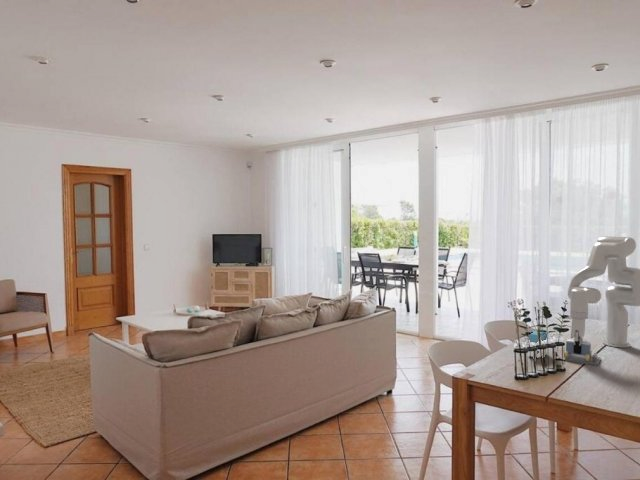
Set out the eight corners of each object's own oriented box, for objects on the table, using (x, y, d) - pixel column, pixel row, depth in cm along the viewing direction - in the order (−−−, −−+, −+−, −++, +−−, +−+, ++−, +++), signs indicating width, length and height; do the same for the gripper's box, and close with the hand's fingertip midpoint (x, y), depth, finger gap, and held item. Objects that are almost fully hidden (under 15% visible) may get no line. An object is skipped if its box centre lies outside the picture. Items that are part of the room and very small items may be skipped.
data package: (537, 359, 228) (537, 334, 228) (527, 357, 232) (528, 333, 231) (547, 354, 236) (547, 330, 236) (538, 352, 240) (538, 329, 239)
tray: (559, 353, 238) (559, 345, 238) (600, 359, 228) (600, 351, 227) (555, 359, 228) (555, 350, 228) (597, 365, 218) (598, 357, 218)
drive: (567, 350, 233) (567, 338, 232) (590, 354, 227) (590, 342, 226) (565, 352, 229) (566, 340, 229) (589, 356, 223) (589, 343, 223)
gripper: (573, 310, 236) (572, 347, 237) (567, 316, 222) (566, 355, 223) (590, 312, 231) (589, 349, 232) (585, 318, 218) (584, 357, 219)
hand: (578, 351), depth 228 cm, fingers closed on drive, 4 cm apart
